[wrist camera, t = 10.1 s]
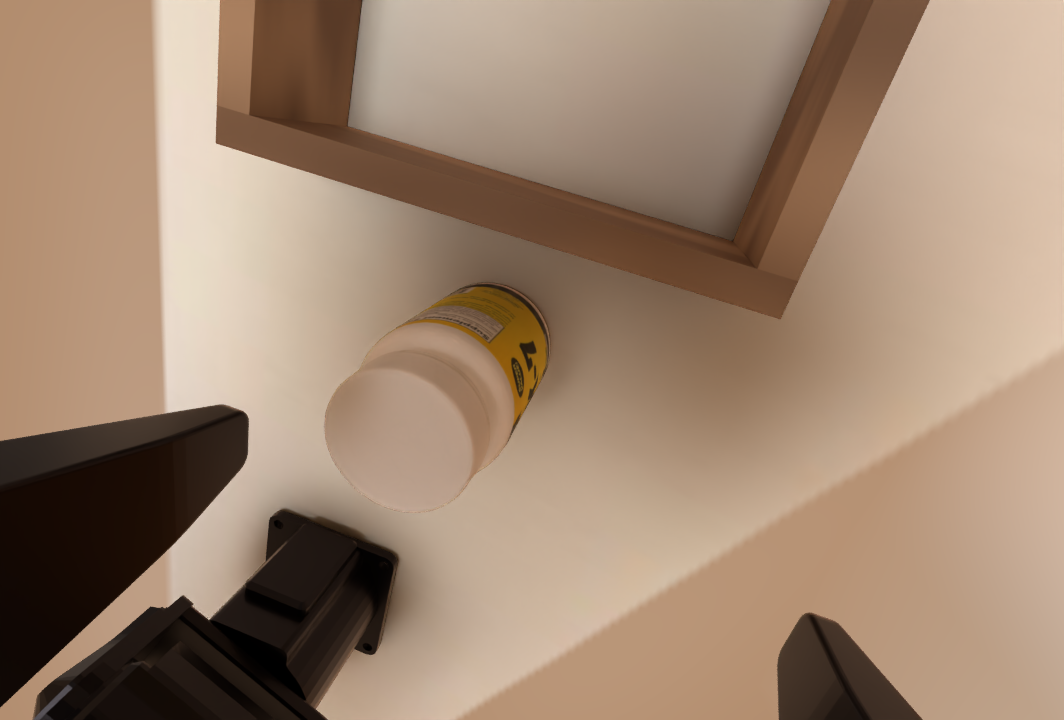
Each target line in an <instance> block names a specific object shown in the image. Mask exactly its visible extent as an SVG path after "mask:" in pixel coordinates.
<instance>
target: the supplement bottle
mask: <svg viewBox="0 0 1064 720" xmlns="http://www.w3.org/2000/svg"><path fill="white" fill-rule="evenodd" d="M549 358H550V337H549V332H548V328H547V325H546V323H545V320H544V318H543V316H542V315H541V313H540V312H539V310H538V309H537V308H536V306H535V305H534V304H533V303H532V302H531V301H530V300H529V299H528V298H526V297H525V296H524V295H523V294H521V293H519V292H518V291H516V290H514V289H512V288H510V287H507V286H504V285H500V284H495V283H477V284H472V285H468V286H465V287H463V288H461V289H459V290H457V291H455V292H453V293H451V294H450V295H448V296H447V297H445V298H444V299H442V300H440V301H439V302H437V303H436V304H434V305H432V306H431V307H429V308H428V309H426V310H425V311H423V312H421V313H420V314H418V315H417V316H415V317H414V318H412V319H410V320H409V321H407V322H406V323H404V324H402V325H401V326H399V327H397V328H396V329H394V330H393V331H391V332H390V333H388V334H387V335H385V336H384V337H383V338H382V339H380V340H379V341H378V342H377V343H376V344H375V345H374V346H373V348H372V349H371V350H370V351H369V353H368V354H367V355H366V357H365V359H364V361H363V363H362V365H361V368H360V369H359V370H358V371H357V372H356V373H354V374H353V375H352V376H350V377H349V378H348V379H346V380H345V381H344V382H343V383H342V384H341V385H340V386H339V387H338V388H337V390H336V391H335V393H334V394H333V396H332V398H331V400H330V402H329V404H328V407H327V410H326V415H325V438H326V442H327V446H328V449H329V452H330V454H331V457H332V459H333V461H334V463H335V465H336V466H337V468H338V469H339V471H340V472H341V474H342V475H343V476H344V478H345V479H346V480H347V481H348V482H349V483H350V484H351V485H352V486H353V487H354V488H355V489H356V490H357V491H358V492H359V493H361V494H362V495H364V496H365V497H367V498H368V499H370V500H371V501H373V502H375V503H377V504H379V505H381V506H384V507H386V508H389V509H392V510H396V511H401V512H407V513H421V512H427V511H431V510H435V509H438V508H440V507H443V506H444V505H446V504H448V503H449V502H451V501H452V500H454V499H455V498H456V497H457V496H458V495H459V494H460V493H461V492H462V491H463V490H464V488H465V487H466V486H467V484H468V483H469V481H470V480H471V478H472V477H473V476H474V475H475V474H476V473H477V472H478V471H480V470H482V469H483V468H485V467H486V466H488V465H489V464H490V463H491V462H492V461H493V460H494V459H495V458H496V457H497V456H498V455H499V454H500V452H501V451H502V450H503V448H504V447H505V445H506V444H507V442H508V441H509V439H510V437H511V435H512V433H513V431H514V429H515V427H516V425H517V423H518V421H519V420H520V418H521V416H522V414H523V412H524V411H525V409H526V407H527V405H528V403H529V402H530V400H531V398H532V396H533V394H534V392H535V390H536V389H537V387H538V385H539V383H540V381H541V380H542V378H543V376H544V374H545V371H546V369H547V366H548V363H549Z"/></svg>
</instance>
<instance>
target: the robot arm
mask: <svg viewBox="0 0 1064 720" xmlns="http://www.w3.org/2000/svg"><path fill="white" fill-rule="evenodd" d="M248 428H249V419H248V416H247V414H246V413H245V412H244V411H241V410H239V409H236V408H233V407H230V406H227V405H214V406H208V407H202V408H196V409H190V410H184V411H178V412H172V413H166V414H160V415H154V416H148V417H142V418H136V419H130V420H124V421H118V422H112V423H106V424H100V425H94V426H88V427H82V428H76V429H70V430H64V431H58V432H52V433H46V434H40V435H35V436H28V437H22V438H16V439H10V440H4V441H0V707H1V706H2V705H3V704H4V703H6V702H7V701H8V700H9V699H10V698H11V697H12V696H13V695H14V694H15V693H16V692H17V691H18V690H19V689H20V688H21V687H23V686H24V685H25V684H26V683H27V682H28V681H29V680H30V679H31V678H32V677H33V676H34V675H35V674H36V673H37V672H39V671H40V670H41V669H42V668H43V667H44V666H45V665H46V664H47V663H48V662H49V661H50V660H51V659H52V658H53V657H54V656H55V655H57V654H58V653H59V652H60V651H61V650H62V649H63V648H64V647H65V646H66V645H67V644H68V643H69V642H70V641H71V640H73V639H74V638H75V637H76V636H77V635H78V634H79V633H80V632H81V631H82V630H83V629H84V628H85V627H86V626H87V625H88V624H89V623H91V622H92V621H93V620H94V619H95V618H96V617H97V616H98V615H99V614H100V613H101V612H102V611H103V610H104V609H106V608H107V606H109V605H110V604H111V603H112V602H113V601H114V600H115V599H116V598H117V597H118V596H119V595H120V594H121V593H123V592H124V591H125V590H126V589H127V588H128V587H129V586H130V585H131V584H132V583H133V582H134V581H135V580H136V579H137V578H139V576H141V575H142V574H143V573H144V572H145V571H146V570H147V569H148V568H149V567H150V566H151V565H152V564H153V563H154V562H156V561H157V560H158V559H159V558H160V557H161V556H162V555H163V554H164V553H165V552H166V551H167V550H168V549H169V548H170V547H171V546H172V545H173V544H174V543H175V542H176V541H177V540H178V539H179V538H180V537H181V536H182V535H183V534H184V533H185V532H186V531H187V529H188V528H189V527H190V526H191V525H192V524H193V523H194V522H195V520H196V519H197V518H198V517H199V516H200V515H201V514H202V513H203V511H204V510H205V509H206V508H207V507H208V506H209V505H210V503H211V502H212V501H213V500H214V499H215V498H216V497H217V496H218V494H219V493H220V492H221V491H222V490H223V489H224V488H225V486H226V485H227V484H228V483H229V482H230V481H231V480H232V479H233V477H234V476H235V475H236V474H237V473H238V472H239V471H240V469H241V468H242V467H243V465H244V463H245V461H246V459H247V455H248ZM384 562H386V563H387V564H386V563H384ZM396 569H397V559H396V557H395V556H394V555H393V554H392V553H390V552H387V551H385V550H382V549H380V548H377V547H375V546H372V545H370V544H367V543H364V542H362V541H359V540H357V539H354V538H352V537H349V536H347V535H344V534H341V533H339V532H336V531H334V530H331V529H329V528H326V527H324V526H321V525H318V524H316V523H313V522H311V521H308V520H306V519H303V518H301V517H298V516H295V515H293V514H290V513H288V512H285V511H278V512H276V513H275V514H274V515H273V516H272V517H271V518H270V520H269V529H268V540H267V552H266V562H265V563H264V564H263V565H262V566H261V567H260V568H259V569H258V570H257V571H256V572H255V573H254V574H253V575H252V576H251V577H250V578H249V579H248V580H247V582H246V583H245V584H244V585H243V586H242V587H241V588H240V589H239V590H238V591H237V592H236V593H235V594H234V595H233V596H232V597H231V598H230V600H229V601H228V602H227V603H226V604H225V605H224V606H223V607H222V608H221V609H220V610H219V611H218V612H217V613H216V614H215V615H214V616H213V617H212V618H211V619H210V620H208V619H207V618H206V617H204V616H203V615H202V614H201V613H200V612H198V611H197V610H196V609H195V608H194V607H192V605H193V603H192V602H191V601H190V600H188V599H187V598H186V597H185V596H184V595H183V596H181V597H180V598H179V599H178V600H176V601H175V602H174V603H173V604H172V605H170V606H169V607H168V608H167V607H166V608H165V609H164V608H163V607H161V608H156V607H150V608H149V609H147V610H146V611H145V612H144V613H143V614H142V615H140V616H139V617H138V618H137V619H136V620H135V621H133V622H132V623H131V624H130V625H129V626H128V627H127V628H125V629H124V630H123V631H122V632H121V633H119V634H118V635H117V636H116V637H115V638H113V639H112V640H111V641H109V642H108V643H107V644H105V645H104V646H103V647H101V648H100V649H98V650H97V651H95V652H94V653H92V654H91V655H90V656H88V657H87V658H85V659H84V660H82V661H81V662H79V663H78V664H76V665H75V666H74V667H72V668H71V669H69V670H68V671H66V672H65V673H63V674H62V675H61V676H59V677H58V678H56V679H55V680H54V681H53V682H51V683H50V684H49V685H48V686H47V687H46V688H44V690H42V692H41V693H39V695H38V696H37V699H36V705H35V710H34V716H33V720H328V719H327V718H325V717H324V716H323V715H322V714H321V713H319V712H318V711H317V710H316V708H317V706H318V705H319V703H320V702H321V700H322V698H323V697H324V695H325V694H326V692H327V690H328V689H329V687H330V686H331V684H332V683H333V681H334V679H335V678H336V676H337V675H338V673H339V672H340V670H341V668H342V667H343V665H344V664H345V662H346V661H347V659H348V657H349V656H350V654H351V653H352V651H353V650H354V649H356V650H358V651H360V652H363V653H365V654H369V655H373V654H375V653H376V651H377V649H378V648H379V646H380V643H381V639H382V634H383V629H384V625H385V620H386V615H387V611H388V606H389V601H390V597H391V592H392V587H393V583H394V578H395V573H396ZM777 673H778V674H777V676H778V710H779V711H778V712H779V720H922V718H921V717H920V716H919V715H918V714H917V713H916V712H915V711H914V709H913V708H912V707H911V706H910V705H909V704H908V703H907V701H906V700H905V699H904V698H903V697H902V696H901V694H900V693H899V692H898V691H897V690H896V689H895V688H894V686H893V685H892V684H891V683H890V682H889V681H888V680H887V679H886V677H885V676H884V675H883V674H882V673H881V672H880V670H879V669H878V668H877V667H876V666H875V665H874V664H873V662H872V661H871V660H870V659H869V658H868V657H867V656H866V654H865V653H864V652H863V651H862V650H861V649H860V647H859V646H858V645H857V644H856V643H855V642H854V641H853V640H852V638H851V637H850V636H849V635H848V634H847V633H846V631H845V630H844V629H843V628H842V627H841V626H840V625H839V624H838V623H837V622H835V621H833V620H831V619H828V618H825V617H822V616H819V615H816V614H814V613H805V614H804V615H802V616H801V618H800V619H799V620H798V622H797V624H796V625H795V627H794V629H793V630H792V632H791V634H790V635H789V637H788V639H787V640H786V642H785V644H784V645H783V647H782V649H781V651H780V654H779V657H778V664H777Z"/></svg>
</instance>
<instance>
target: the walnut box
mask: <svg viewBox="0 0 1064 720" xmlns="http://www.w3.org/2000/svg"><path fill="white" fill-rule="evenodd" d="M929 1H930V0H831V2H830V5H829V7H828V10H827V12H826V15H825V17H824V20H823V22H822V24H821V27H820V29H819V32H818V34H817V37H816V39H815V42H814V44H813V47H812V49H811V51H810V54H809V56H808V59H807V61H806V64H805V66H804V69H803V71H802V74H801V76H800V78H799V81H798V83H797V86H796V88H795V91H794V93H793V96H792V98H791V101H790V103H789V105H788V108H787V110H786V113H785V115H784V118H783V120H782V123H781V125H780V128H779V130H778V132H777V135H776V137H775V140H774V142H773V145H772V147H771V150H770V152H769V155H768V157H767V159H766V162H765V164H764V167H763V169H762V172H761V174H760V177H759V179H758V182H757V184H756V186H755V189H754V191H753V194H752V196H751V199H750V201H749V204H748V206H747V208H746V211H745V213H744V216H743V218H742V221H741V223H740V226H739V228H738V231H737V233H736V235H735V238H734V240H733V241H730V240H726V239H723V238H720V237H716V236H713V235H710V234H706V233H703V232H700V231H696V230H693V229H690V228H686V227H683V226H680V225H676V224H673V223H669V222H666V221H663V220H659V219H656V218H653V217H649V216H646V215H643V214H639V213H636V212H633V211H629V210H626V209H623V208H619V207H616V206H613V205H609V204H606V203H602V202H599V201H596V200H592V199H589V198H586V197H582V196H579V195H576V194H572V193H569V192H566V191H562V190H559V189H556V188H552V187H549V186H546V185H542V184H539V183H535V182H532V181H529V180H525V179H522V178H519V177H515V176H512V175H509V174H505V173H502V172H499V171H495V170H492V169H489V168H485V167H482V166H479V165H475V164H472V163H469V162H465V161H462V160H458V159H455V158H452V157H448V156H445V155H442V154H438V153H435V152H432V151H428V150H425V149H422V148H418V147H415V146H412V145H408V144H405V143H402V142H398V141H395V140H391V139H388V138H385V137H381V136H378V135H375V134H371V133H368V132H365V131H361V130H358V129H355V128H351V127H348V126H347V121H348V113H349V104H350V96H351V87H352V79H353V70H354V62H355V53H356V45H357V36H358V28H359V19H360V11H361V2H362V0H220V21H219V54H218V87H217V120H216V143H217V144H220V145H223V146H226V147H229V148H233V149H236V150H239V151H242V152H245V153H249V154H252V155H255V156H258V157H261V158H265V159H268V160H271V161H274V162H278V163H281V164H284V165H287V166H290V167H294V168H297V169H300V170H303V171H306V172H310V173H313V174H316V175H319V176H322V177H326V178H329V179H332V180H335V181H338V182H342V183H345V184H348V185H351V186H355V187H358V188H361V189H364V190H367V191H371V192H374V193H377V194H380V195H383V196H387V197H390V198H393V199H396V200H399V201H403V202H406V203H409V204H412V205H415V206H419V207H422V208H425V209H428V210H432V211H435V212H438V213H441V214H444V215H448V216H451V217H454V218H457V219H460V220H464V221H467V222H470V223H473V224H476V225H480V226H483V227H486V228H489V229H492V230H496V231H499V232H502V233H505V234H509V235H512V236H515V237H518V238H521V239H525V240H528V241H531V242H534V243H537V244H541V245H544V246H547V247H550V248H553V249H557V250H560V251H563V252H566V253H569V254H573V255H576V256H579V257H582V258H586V259H589V260H592V261H595V262H598V263H602V264H605V265H608V266H611V267H614V268H618V269H621V270H624V271H627V272H630V273H634V274H637V275H640V276H643V277H646V278H650V279H653V280H656V281H659V282H663V283H666V284H669V285H672V286H675V287H679V288H682V289H685V290H688V291H691V292H695V293H698V294H701V295H704V296H707V297H711V298H714V299H717V300H720V301H723V302H727V303H730V304H733V305H736V306H740V307H743V308H746V309H749V310H752V311H756V312H759V313H762V314H765V315H768V316H772V317H775V318H778V319H781V317H782V315H783V313H784V310H785V308H786V306H787V304H788V302H789V300H790V298H791V295H792V293H793V291H794V289H795V287H796V285H797V283H798V280H799V278H800V276H801V274H802V272H803V270H804V268H805V266H806V263H807V261H808V259H809V257H810V255H811V253H812V251H813V248H814V246H815V244H816V242H817V240H818V238H819V236H820V233H821V231H822V229H823V227H824V225H825V223H826V221H827V219H828V216H829V214H830V212H831V210H832V208H833V206H834V204H835V201H836V199H837V197H838V195H839V193H840V191H841V189H842V186H843V184H844V182H845V180H846V178H847V176H848V174H849V172H850V169H851V167H852V165H853V163H854V161H855V159H856V157H857V154H858V152H859V150H860V148H861V146H862V144H863V142H864V139H865V137H866V135H867V133H868V131H869V129H870V127H871V125H872V122H873V120H874V118H875V116H876V114H877V112H878V110H879V107H880V105H881V103H882V101H883V99H884V97H885V95H886V92H887V90H888V88H889V86H890V84H891V82H892V80H893V78H894V75H895V73H896V71H897V69H898V67H899V65H900V63H901V60H902V58H903V56H904V54H905V52H906V50H907V48H908V45H909V43H910V41H911V39H912V37H913V35H914V33H915V31H916V28H917V26H918V24H919V22H920V20H921V18H922V16H923V13H924V11H925V9H926V7H927V5H928V3H929Z"/></svg>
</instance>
